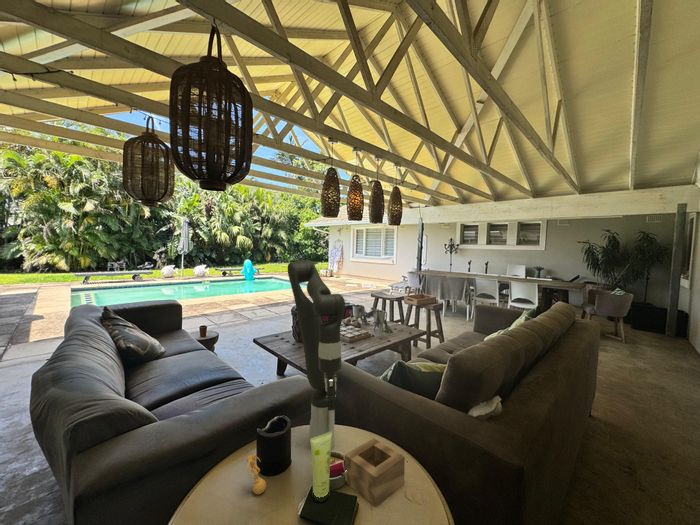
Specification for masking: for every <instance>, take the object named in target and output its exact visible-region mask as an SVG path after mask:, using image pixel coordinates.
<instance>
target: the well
mask: <svg viewBox="0 0 700 525" xmlns="http://www.w3.org/2000/svg"><path fill="white" fill-rule="evenodd" d="M405 458H406V457H405V456H404V455H402V454H400V453H399V452H397V450H396V451H395V450H394V449H392V448H390V447H389V446H387V445H386V444H384V443H383V442H381V441H379V440H377V439H376V438H374V437H373V438H371V439H369V440H367V441H366V442H364V443H363V444H361V445H359V446H357V447H355V448H354V449H352V450H350V451H348V452H346V453H345V454H344V470H345V469H346V470H347V471H348V473H347V483H348V484H349V485H350V486H349V485H348V484H347V483H346V484H347V485H348V486H349V487H351V489H353V490H354V491H355V490H356V491H357V492H356V491H355V492H356V493H358V494H359V495H360V494H361V495H362V496H363V497H362V496H361V495H360V496H361V497H362V498H363V499H365V500H366V499H367V500H368V501H369V502H368V503H369V504H371V505H372V506H373V507H374V508H377V507H378V506H379V505H380V504H382V503H383V502H384V501H385V500H387V499H389V497H390V496H392V495H393V494H394V493H395V492H396V491H398V490H399V489H401V487H403V486H404V485H405V465H406V464H405V460H406V459H405ZM367 500H366V501H367Z"/></svg>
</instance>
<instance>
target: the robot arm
mask: <svg viewBox="0 0 700 525" xmlns="http://www.w3.org/2000/svg"><path fill="white" fill-rule="evenodd" d="M287 274H288V279H289V284H290V287H291V291H292V296H293V298H294V304H295V307H296V309H295V310H296V314H297V320H298V325H299V330H300V335H301V339H302V345H303V351H304V352H303V353H304V360H305V370H306V376H307V380H308V383H309V385H310V387H311V388H313V389H314V390H315V391H314V392H313V394H312V395H311V402H310V403H311V405H310V406H311V407H310V409H311V410H310V411H311V412H310V414H311V415H310V417H311V418H310V420H309V440H310V439H311V438H314V437H317V436H320V435H323V434H326V433H329V432H331V431H332V439H331V451H332V450H334V448H335V409H336V408H335V407H336V405H335V402H336V401H335V400H336V397H337V394H338V379H339V378H338V377H339V375H338V373H339V372H338V371H340V370H342V343H341V327H342V322H343V319H344V318H343V317H344V314H345V309H346V301H345V299H344V296H343V295H342V294H340V293H333V294H332V292H331V289H330V288H329V287H328V285H326V284H325V282H324V281H323V279H322V278H321V274H320V273H319V271H318V270H317V267H316V265H315V264H314V262H313V261H312V260H309V259H305V260H298V261H291V262H289V263H288V264H287ZM301 283H307V284H306V291H307V294H308V296H309V297H310V298H311V300H312V301H311V300H310V299H309V297H308V296H307V295H306V294H305V292H304V291H303V289H302V287H301V285H300V284H301ZM322 317H330V319H329V320H328V321H325V322H323V320H322Z"/></svg>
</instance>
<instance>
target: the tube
mask: <svg viewBox="0 0 700 525" xmlns="http://www.w3.org/2000/svg"><path fill="white" fill-rule="evenodd" d="M331 439H332V431H331V432H329V433H326V434H323V435H320V436H317V437H314V438H311V439H310V438H309V444H310V454H311V468H312V472H311V473H312V494H313V493H314V495H315V496H316V497H319V498H320V497H324V496H326V495H327V494H328V492H329V493H330V472H331V471H330V468H331V466H330V465H331V464H330V463H331V451H332V450H331Z"/></svg>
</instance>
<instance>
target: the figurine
mask: <svg viewBox="0 0 700 525" xmlns="http://www.w3.org/2000/svg"><path fill="white" fill-rule="evenodd" d="M256 459H257V460H258V461H259V462H261V459H260V458H259V457H258V456H257V455H256V454H255V453H253V454H252V455H248V456H247V458H246V463H247V465H246V470H247V474H248V478H249V480H252V475H251V473H250V472H252V473H253V474H254V475H253V480H254V482H253V483H252V484H253V485H252V491H253V493H254V494H256V495H261V494H263V493H264V491H265V490H266V487H267V483H266V480H265V479H263V478H261V477H260V476H259V473H260V472H261V469H260V468H259V466H258V465H257V464H256ZM249 468H251V470H250V469H249Z"/></svg>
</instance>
